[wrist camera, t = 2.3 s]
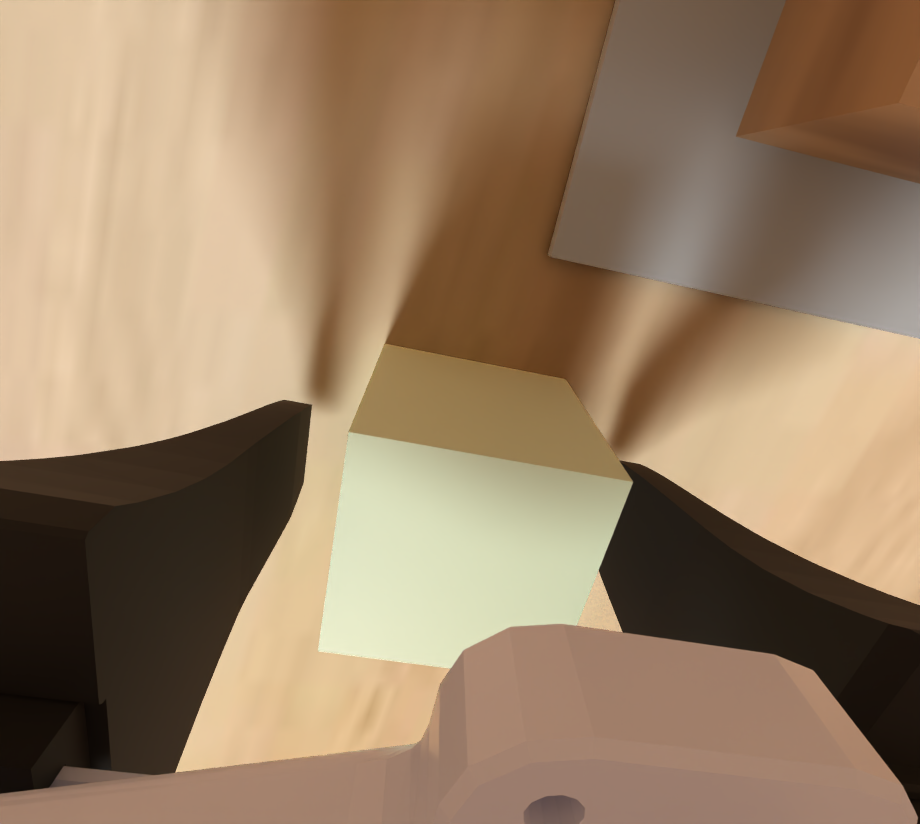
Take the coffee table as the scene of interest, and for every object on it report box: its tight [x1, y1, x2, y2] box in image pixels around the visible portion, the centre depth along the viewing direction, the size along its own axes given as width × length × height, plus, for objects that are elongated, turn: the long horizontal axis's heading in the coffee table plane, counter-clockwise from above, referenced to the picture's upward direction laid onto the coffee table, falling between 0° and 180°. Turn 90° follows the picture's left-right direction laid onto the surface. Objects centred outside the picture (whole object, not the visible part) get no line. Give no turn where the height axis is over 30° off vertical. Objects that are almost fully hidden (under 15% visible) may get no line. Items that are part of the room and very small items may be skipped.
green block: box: [318, 344, 633, 669], centre depth 11 cm, size 4×4×5 cm
